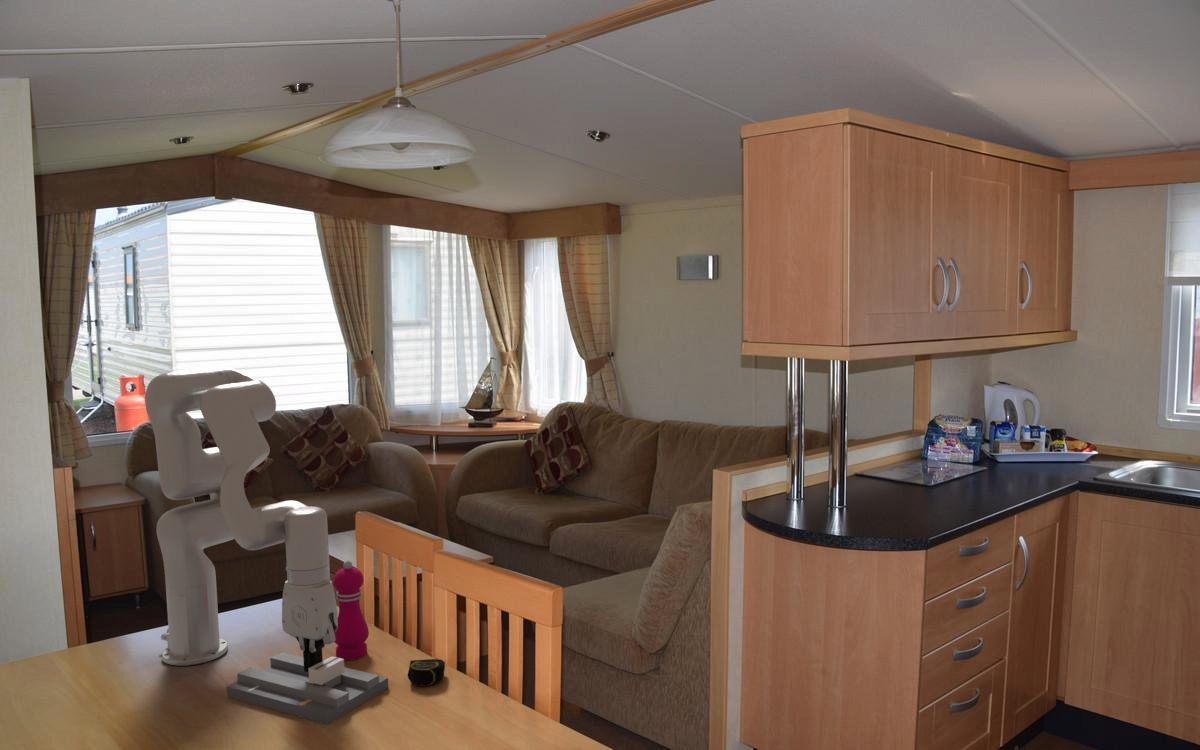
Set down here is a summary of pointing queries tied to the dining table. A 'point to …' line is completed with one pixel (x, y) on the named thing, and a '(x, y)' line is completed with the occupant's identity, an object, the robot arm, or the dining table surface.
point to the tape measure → (426, 671)
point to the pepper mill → (350, 614)
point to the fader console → (304, 689)
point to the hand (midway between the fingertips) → (313, 669)
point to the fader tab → (327, 672)
